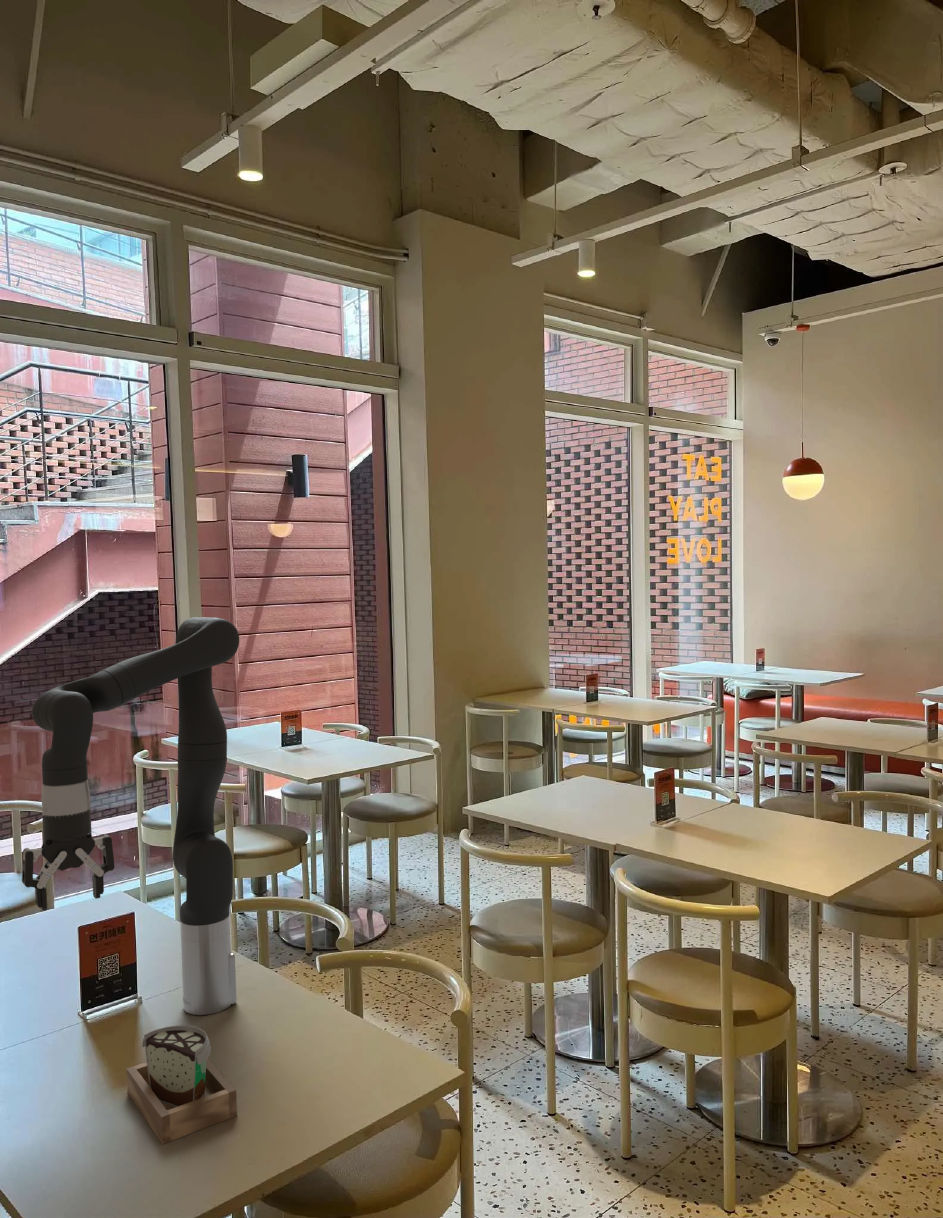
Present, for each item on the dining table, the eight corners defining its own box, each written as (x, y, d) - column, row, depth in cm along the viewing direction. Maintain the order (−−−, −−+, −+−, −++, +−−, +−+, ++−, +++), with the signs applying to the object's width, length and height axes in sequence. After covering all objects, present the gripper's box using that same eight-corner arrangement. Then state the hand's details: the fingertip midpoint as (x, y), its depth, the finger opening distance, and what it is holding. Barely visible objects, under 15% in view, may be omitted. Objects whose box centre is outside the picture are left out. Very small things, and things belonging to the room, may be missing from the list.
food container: (229, 1096, 146) (227, 1033, 145) (200, 1116, 140) (198, 1051, 140) (174, 1077, 152) (171, 1017, 151) (144, 1096, 146) (141, 1034, 146)
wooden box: (197, 1069, 156) (196, 1046, 156) (237, 1115, 142) (236, 1090, 142) (127, 1093, 149) (126, 1068, 149) (162, 1144, 135) (161, 1117, 135)
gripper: (104, 797, 164) (107, 888, 164) (16, 811, 155) (20, 907, 156) (116, 805, 158) (119, 899, 158) (25, 820, 149) (29, 919, 150)
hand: (70, 903), depth 157 cm, fingers open, 8 cm apart
